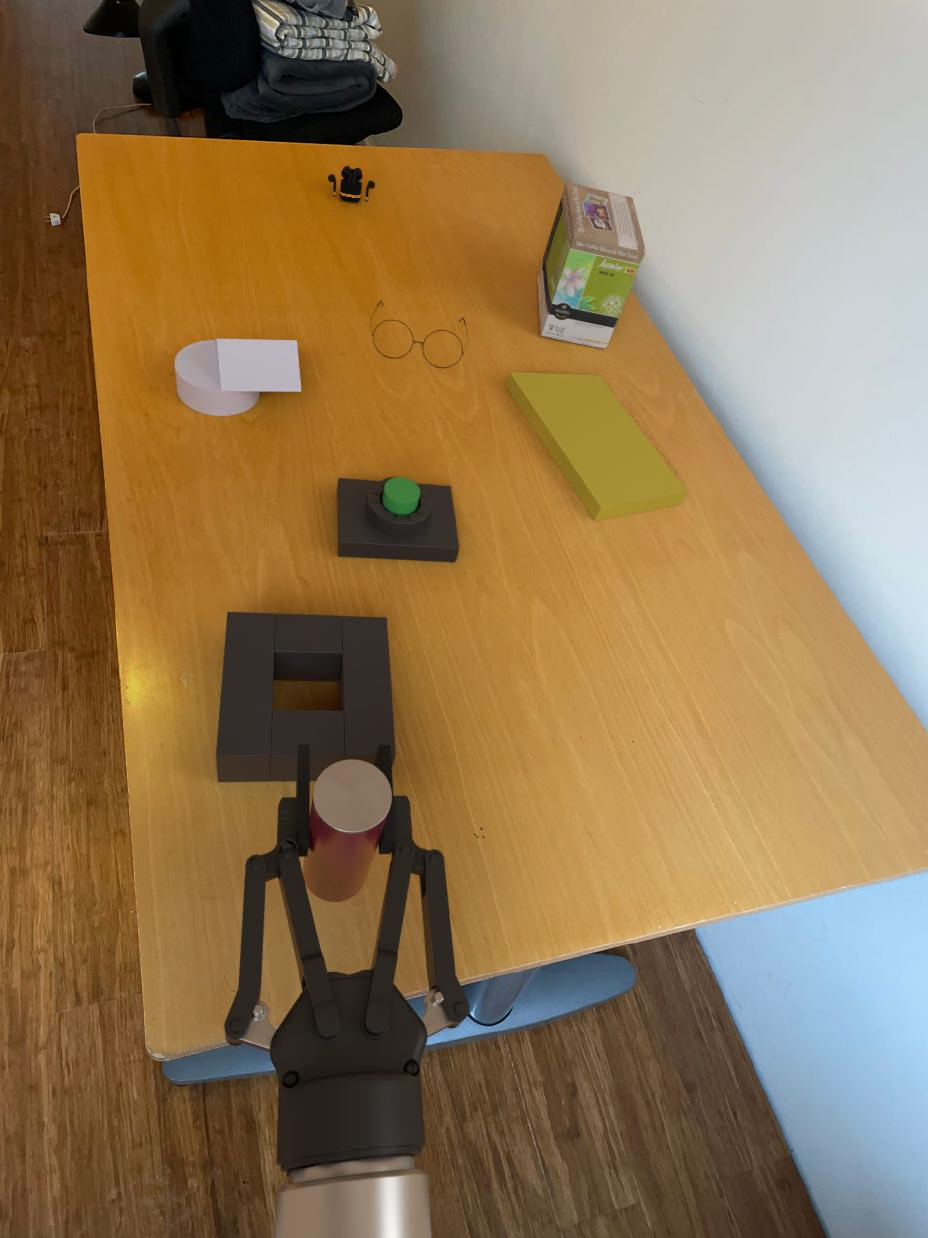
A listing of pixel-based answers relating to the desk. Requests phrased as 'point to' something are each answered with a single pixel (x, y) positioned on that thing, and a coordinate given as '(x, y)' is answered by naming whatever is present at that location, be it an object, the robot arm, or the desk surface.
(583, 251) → the tea box
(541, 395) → the flat olive board
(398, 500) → the button
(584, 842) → the desk surface
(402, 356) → the eyeglasses
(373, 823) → the dark red cylinder
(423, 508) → the panel
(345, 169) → the wireless earbuds
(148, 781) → the desk surface
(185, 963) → the desk surface
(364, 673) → the square peg hole block
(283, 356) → the wedge on round base
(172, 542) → the desk surface
